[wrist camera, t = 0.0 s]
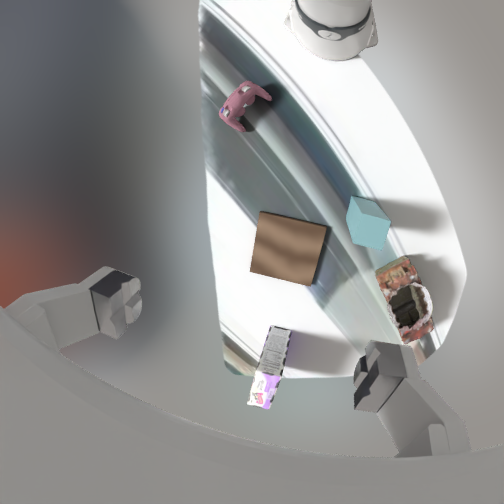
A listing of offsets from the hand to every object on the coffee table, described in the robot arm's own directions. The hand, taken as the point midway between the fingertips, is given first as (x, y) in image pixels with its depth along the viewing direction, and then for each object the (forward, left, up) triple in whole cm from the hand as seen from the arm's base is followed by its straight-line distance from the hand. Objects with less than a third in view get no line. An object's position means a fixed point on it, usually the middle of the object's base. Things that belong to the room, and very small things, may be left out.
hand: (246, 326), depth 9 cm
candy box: (+45, +2, -48) cm, 66 cm away
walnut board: (+17, -1, -48) cm, 51 cm away
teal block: (+5, +12, -48) cm, 50 cm away
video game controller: (-11, -14, -48) cm, 51 cm away
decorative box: (+20, +29, -48) cm, 60 cm away
